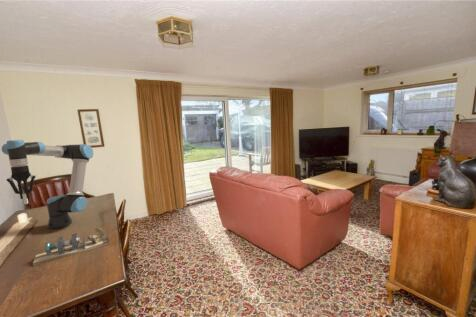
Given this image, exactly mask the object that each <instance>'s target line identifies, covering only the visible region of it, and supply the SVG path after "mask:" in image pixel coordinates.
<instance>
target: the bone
mask: <svg viewBox="0 0 476 317" xmlns="http://www.w3.org/2000/svg"><path fill="white" fill-rule="evenodd" d="M94 231H95V232H96V233H99V236H98V235H95V234H92V235H91V234H89V235H88V237H87V239H88V241H92V242H95V243H98V242H99V241H101V240H103V237H104V230H103V229H102V228H100V227H95V228H94Z"/></svg>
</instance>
